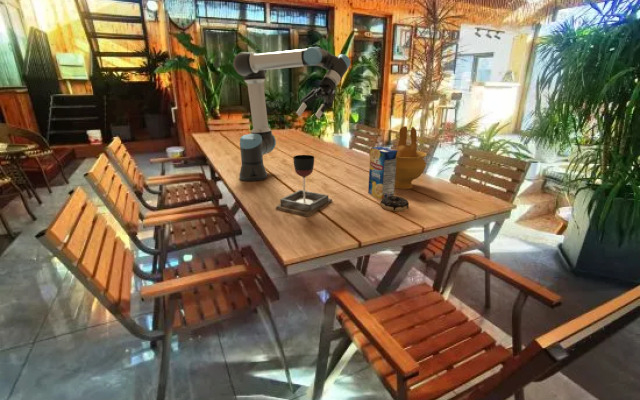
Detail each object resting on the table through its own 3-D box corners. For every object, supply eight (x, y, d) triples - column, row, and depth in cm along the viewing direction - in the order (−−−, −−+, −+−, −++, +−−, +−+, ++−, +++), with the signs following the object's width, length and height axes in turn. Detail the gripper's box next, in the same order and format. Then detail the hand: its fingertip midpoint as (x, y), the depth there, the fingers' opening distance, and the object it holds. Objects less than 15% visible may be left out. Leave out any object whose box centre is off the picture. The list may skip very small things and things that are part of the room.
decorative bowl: (373, 186, 170) (376, 126, 160) (394, 177, 185) (399, 122, 174) (410, 195, 157) (416, 131, 146) (430, 185, 171) (437, 126, 161)
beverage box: (381, 199, 150) (385, 152, 143) (368, 193, 160) (370, 147, 152) (393, 197, 153) (397, 150, 146) (379, 191, 163) (382, 146, 155)
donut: (388, 201, 150) (388, 192, 148) (412, 207, 143) (413, 198, 141) (376, 208, 141) (376, 199, 140) (401, 214, 134) (402, 205, 133)
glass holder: (276, 209, 140) (275, 200, 138) (302, 195, 156) (302, 188, 155) (307, 216, 132) (307, 207, 131) (332, 201, 148) (332, 193, 147)
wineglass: (294, 199, 148) (293, 155, 141) (313, 198, 148) (313, 154, 141) (294, 205, 140) (293, 159, 133) (314, 205, 141) (315, 159, 134)
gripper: (352, 88, 157) (329, 123, 152) (316, 87, 174) (294, 118, 169) (345, 76, 152) (321, 112, 147) (308, 76, 168) (286, 108, 164)
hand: (307, 115), depth 158 cm, fingers open, 13 cm apart
